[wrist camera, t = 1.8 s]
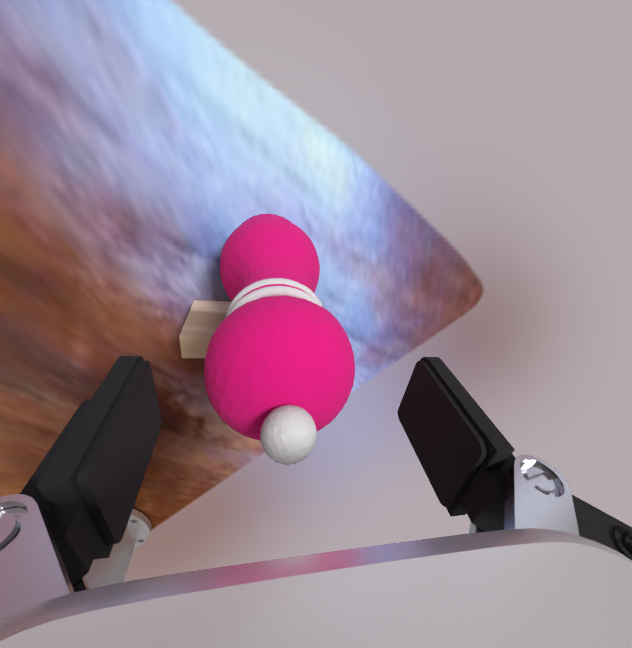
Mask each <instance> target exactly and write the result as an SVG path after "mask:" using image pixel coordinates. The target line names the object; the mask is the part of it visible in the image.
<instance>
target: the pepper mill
mask: <svg viewBox="0 0 632 648" xmlns="http://www.w3.org/2000/svg"><path fill="white" fill-rule="evenodd" d="M319 272H320V266H319V260H318V256H317V253H316V250H315V247H314V245H313V243H312V241H311V240H310V238H309V237H308V236H307V235H306V234H305V233H304V232H303V231H302V230H301V229H300V228H299V227H297V226H296V225H294V224H292V223H291V222H290V221H289V220H287V219H285V218H283V217H281V216H277V215H273V214H260V215H257V216H253V217H251V218H249V219H248V220H246V221H245V222H244V223H242V224H241V225H240V226H239V227H238V228H237V229H236V230H235V231H234V232H233V233H232V234H231V235H230V236H229V238H228V239H227V241H226V243H225V245H224V247H223V249H222V253H221V260H220V275H221V280H222V283H223V286H224V288H225V290H226V293H227V294H228V296H229V298H230V300H231V301H232V302H231V304H230V306H229V308H228V311H227V316H226V318H225V319H224V320H223V321H222V322H221V324H220V325H219V326H218V328H217V329H216V331H215V332H214V334H213V335H212V337H211V340H210V342H209V345H208V349H207V353H206V356H205V364H204V378H205V385H206V391H207V394H208V397H209V400H210V402H211V404H212V406H213V408H214V409H215V411H216V412H217V414H218V415H219V416H220V418H221V419H222V420H223V421H224V422H225V423H226V424H227V425H229V426H230V427H231V428H232V429H233V430H235V431H237V432H239V433H241V434H242V435H244V436H247V437H250V438H253V439H257V440H261V444H262V446H263V448H264V450H265V452H266V454H267V455H268V456H269V457H270V458H271V459H273V460H274V461H275V462H277V463H281V464H285V465H289V464H296V463H298V462H300V461H302V460H303V459H305V458H306V457H307V456H308V455H309V454H310V452H311V451H312V450H313V448H314V445H315V442H316V438H317V431H319V430H320V429H322V428H323V427H325V426H326V425H327V424H329V423H330V422H331V421H332V420H333V419H334V418H335V417H336V416H337V415H338V413H339V412H340V411H341V410H342V408H343V407H344V405H345V403H346V402H347V399H348V397H349V394H350V392H351V389H352V387H353V381H354V375H355V363H354V354H353V351H352V347H351V344H350V342H349V339H348V337H347V335H346V332H345V331H344V329H343V328H342V326H341V325H340V323H339V322H338V320H337V319H336V318H335V317H334V316H333V315H332V314H331V313H330V312H329V311H327V310H326V309H324V308H323V306H322V304H321V302H320V301H319V299H318V298H317V296H316V295H315V294H314V292H315V289H316V286H317V283H318V279H319Z"/></svg>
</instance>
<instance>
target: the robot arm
mask: <svg viewBox="0 0 632 648" xmlns="http://www.w3.org/2000/svg"><path fill="white" fill-rule="evenodd" d="M398 417H399V420H400V422H401V424H402V426H403V428H404V430H405V432H406V434H407V436H408V438H409V440H410V442H411V444H412V446H413V448H414V450H415V452H416V455H417V457H418V459H419V461H420V463H421V465H422V467H423V469H424V471H425V473H426V475H427V477H428V478H429V481H430V483H431V485H432V487H433V489H434V491H435V493H436V495H437V497H438V499H439V501H440V503H441V504H442V505H443V506H445V507H446V508H447V510H448V512H449V514H450V516H458V515H465V514H466V513H467V514H468V516H469V518H470V520H471V521H470V530H469V534H462V535H455V536H447V537H439V538H432V539H423V540H416V541H408V542H400V543H393V544H386V545H379V546H370V547H364V548H356V549H349V550H341V551H334V552H326V553H319V554H312V555H305V556H298V557H290V558H283V559H275V560H269V561H261V562H255V563H247V564H240V565H233V566H226V567H219V568H212V569H205V570H197V571H190V572H185V573H178V574H171V575H165V576H159V577H153V578H146V579H140V580H134V581H128V582H123V581H124V578H125V575H126V571H127V568H128V565H129V562H130V558H131V555H132V552H133V550H134V549H136V548H138V547H140V546H141V545H142V544H143V543H145V542H146V541H147V539H148V537H149V535H150V532H151V526H152V525H151V522H150V520H149V519H148V518H147V516H145V515H144V514H143V513H141V512H140V511H138V510H136V509H133V507H134V504H135V501H136V498H137V495H138V492H139V489H140V486H141V484H142V481H143V478H144V475H145V472H146V469H147V466H148V463H149V461H150V458H151V455H152V452H153V449H154V446H155V443H156V440H157V437H158V435H159V432H160V428H161V414H160V409H159V405H158V400H157V395H156V390H155V386H154V381H153V376H152V371H151V367H150V363H149V361H144V360H143V358H142V357H141V356H121V357H119V358H118V359H117V361H116V362H115V364H114V365H113V367H112V368H111V370H110V371H109V373H108V375H107V376H106V378H105V379H104V381H103V382H102V384H101V385H100V387H99V388H98V390H97V391H96V393H95V394H94V396H93V398H92V399H91V400H86V401H84V402H83V403H82V404H81V405H80V406H79V408H78V409H77V411H76V412H75V414H74V415H73V417H72V418H71V419H70V421H69V422H68V424H67V425H66V427H65V428H64V430H63V431H62V433H61V434H60V436H59V437H58V439H57V440H56V442H55V443H54V445H53V446H52V447H51V449H50V450H49V452H48V453H47V455H46V456H45V458H44V459H43V461H42V462H41V464H40V465H39V467H38V468H37V470H36V471H35V472H34V474H33V475H32V477H31V478H30V480H29V481H28V483H27V484H26V486H25V487H24V489H23V490H22V492H21V493H20V494H11V495H7V496H3V497H0V648H632V527H630V526H628V525H626V524H625V523H623V522H621V521H619V520H617V519H615V518H614V517H612V516H610V515H608V514H606V513H604V512H602V511H601V510H599V509H597V508H595V507H593V506H592V505H590V504H588V503H586V502H584V501H582V500H581V499H579V498H577V497H575V496H573V495H572V494H571V490H570V487H569V485H568V483H567V482H566V480H565V479H564V477H563V476H562V475H561V474H560V473H559V472H558V471H557V470H556V469H555V468H553V467H552V466H551V465H549V464H548V463H546V462H545V461H543V460H541V459H539V458H536V457H534V456H530V455H520V456H518V457H517V458H515V457H514V456H513V454H512V452H513V451H514V448H513V447H512V446H511V445H510V443H509V442H508V441H507V440H506V438H505V437H504V436H503V435H502V434H501V432H500V431H499V430H498V429H497V428H496V426H495V425H494V424H493V423H492V421H491V420H490V419H489V418H488V417H487V415H486V414H485V413H484V412H483V410H482V409H481V408H480V407H479V406H478V404H477V403H476V402H475V401H474V399H473V398H472V397H471V396H470V394H469V393H468V392H467V391H466V390H465V388H464V387H463V386H462V385H461V383H460V382H459V381H458V380H457V378H456V377H455V376H454V375H453V374H452V372H451V371H450V370H449V369H448V368H447V366H446V365H445V364H444V363H443V361H442V360H441V359H440V358H438V357H423V358H422V359H421V360H420V361H418V362H417V363H416V365H415V368H414V371H413V373H412V376H411V378H410V381H409V383H408V386H407V389H406V391H405V394H404V396H403V399H402V401H401V404H400V406H399V409H398Z"/></svg>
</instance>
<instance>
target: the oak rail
mask: <svg viewBox="0 0 632 648" xmlns="http://www.w3.org/2000/svg"><path fill="white" fill-rule="evenodd" d="M231 302H232V301H205V300H194V301H193V304H192V306H191V309H190V311H189V314H188V316H187V318H186V321H185V323H184V326H183V328H182V331H181V333H180V336H179V339H180V347H181V355H182V358H205V356H206V353H207V349H208V345H209V342H210V340H211V337H212V335H213V334H214V332H215V331H216V329H217V328H218V326H219V325H220V324H221V322H222V321H223V320H224V319H225V318H226V316H227V311H228V308H229V306H230V304H231ZM322 306H323V305H322ZM323 308H324V307H323Z"/></svg>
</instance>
